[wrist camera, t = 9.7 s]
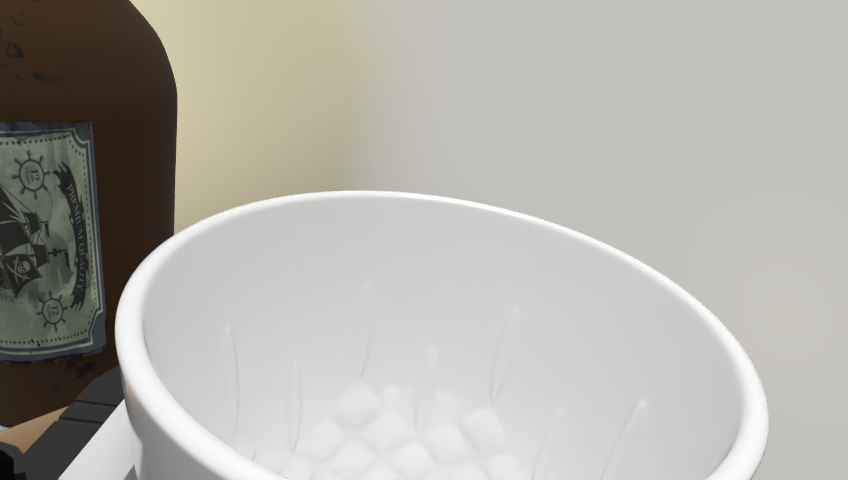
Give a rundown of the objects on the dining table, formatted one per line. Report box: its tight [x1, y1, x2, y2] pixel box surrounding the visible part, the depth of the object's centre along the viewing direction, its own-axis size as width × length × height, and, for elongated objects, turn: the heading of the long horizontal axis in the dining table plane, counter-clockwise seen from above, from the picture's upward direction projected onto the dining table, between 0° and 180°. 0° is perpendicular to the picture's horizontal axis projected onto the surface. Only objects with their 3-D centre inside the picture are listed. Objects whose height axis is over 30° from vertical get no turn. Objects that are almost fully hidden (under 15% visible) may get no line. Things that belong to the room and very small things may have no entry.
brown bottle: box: [0, 0, 177, 426], centre depth 25 cm, size 11×11×25 cm
